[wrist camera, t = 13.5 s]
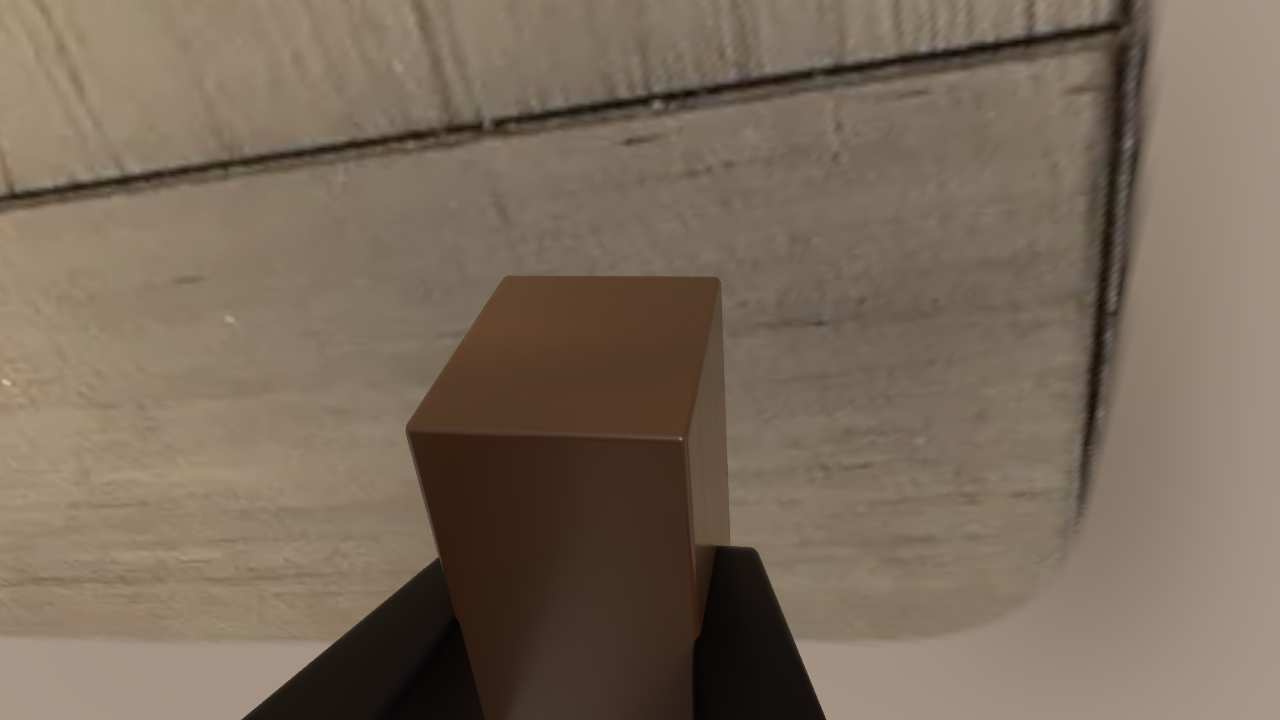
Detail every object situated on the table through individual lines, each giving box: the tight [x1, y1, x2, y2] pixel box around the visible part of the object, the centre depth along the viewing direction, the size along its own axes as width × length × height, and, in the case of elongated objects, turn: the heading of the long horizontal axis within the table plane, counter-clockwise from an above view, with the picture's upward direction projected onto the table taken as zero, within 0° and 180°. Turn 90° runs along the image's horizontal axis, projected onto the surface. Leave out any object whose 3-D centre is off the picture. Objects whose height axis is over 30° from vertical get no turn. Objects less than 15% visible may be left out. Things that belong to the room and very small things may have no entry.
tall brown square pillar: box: [406, 276, 730, 720], centre depth 8 cm, size 2×5×2 cm, turn 4°
